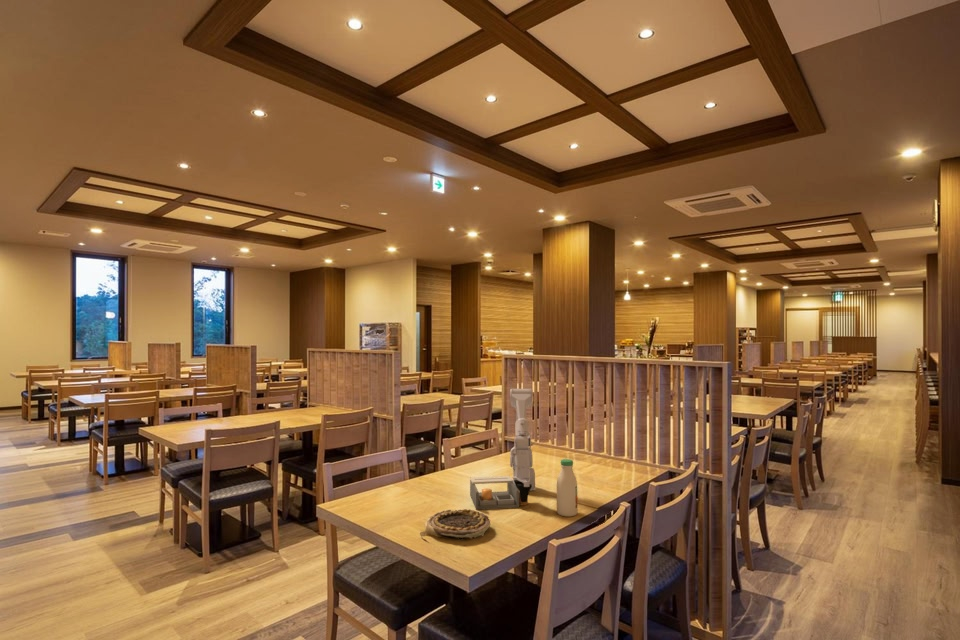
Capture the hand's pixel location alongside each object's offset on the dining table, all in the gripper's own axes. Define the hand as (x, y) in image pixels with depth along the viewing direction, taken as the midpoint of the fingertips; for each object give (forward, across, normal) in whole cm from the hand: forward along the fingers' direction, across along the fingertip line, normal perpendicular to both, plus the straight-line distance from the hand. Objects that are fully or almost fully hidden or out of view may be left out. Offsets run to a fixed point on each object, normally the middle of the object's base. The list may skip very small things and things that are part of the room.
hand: (522, 500), depth 200 cm
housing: (+1, -4, -11) cm, 12 cm away
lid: (-5, -10, -11) cm, 16 cm away
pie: (+2, +25, -28) cm, 37 cm away
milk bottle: (+2, +14, +14) cm, 20 cm away
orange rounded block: (+1, 0, 0) cm, 1 cm away
